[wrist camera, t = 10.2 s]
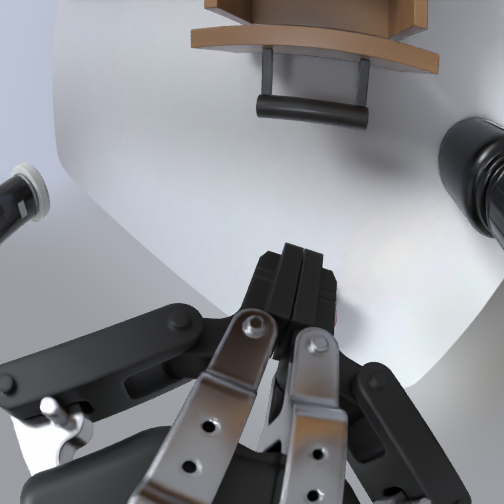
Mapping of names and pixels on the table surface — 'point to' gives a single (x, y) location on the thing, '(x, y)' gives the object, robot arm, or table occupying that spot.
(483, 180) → the ink bottle
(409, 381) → the table surface
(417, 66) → the drawer
